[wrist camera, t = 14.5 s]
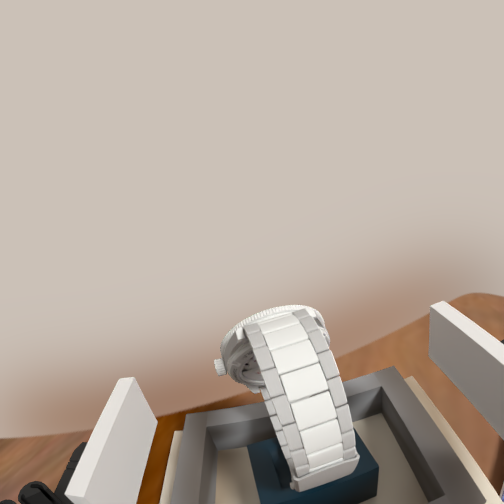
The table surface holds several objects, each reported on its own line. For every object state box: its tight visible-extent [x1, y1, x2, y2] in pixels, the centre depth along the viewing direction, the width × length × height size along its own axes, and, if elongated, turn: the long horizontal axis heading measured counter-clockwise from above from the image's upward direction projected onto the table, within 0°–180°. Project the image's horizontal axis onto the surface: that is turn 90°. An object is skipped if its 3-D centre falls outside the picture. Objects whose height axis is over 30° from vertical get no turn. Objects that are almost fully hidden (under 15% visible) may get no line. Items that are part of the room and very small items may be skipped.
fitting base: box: [160, 366, 504, 504], centre depth 13 cm, size 18×14×4 cm
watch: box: [214, 305, 379, 504], centre depth 12 cm, size 6×8×11 cm
